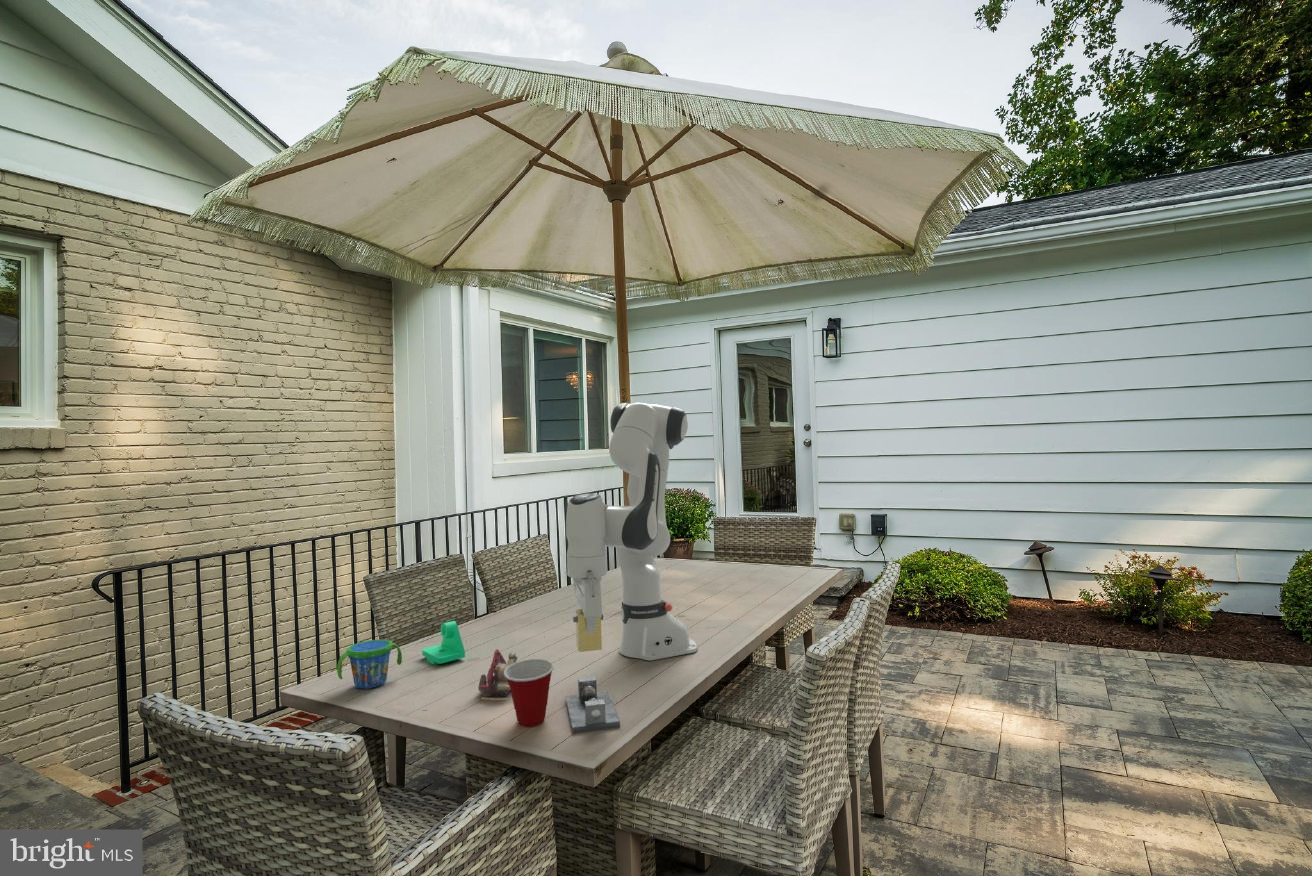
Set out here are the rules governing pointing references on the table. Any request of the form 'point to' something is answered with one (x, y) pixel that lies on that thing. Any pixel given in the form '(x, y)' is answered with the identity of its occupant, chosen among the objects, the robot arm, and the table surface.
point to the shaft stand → (591, 708)
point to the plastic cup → (529, 689)
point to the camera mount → (446, 645)
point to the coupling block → (583, 638)
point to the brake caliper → (496, 678)
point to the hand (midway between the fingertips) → (588, 628)
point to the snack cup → (369, 662)
